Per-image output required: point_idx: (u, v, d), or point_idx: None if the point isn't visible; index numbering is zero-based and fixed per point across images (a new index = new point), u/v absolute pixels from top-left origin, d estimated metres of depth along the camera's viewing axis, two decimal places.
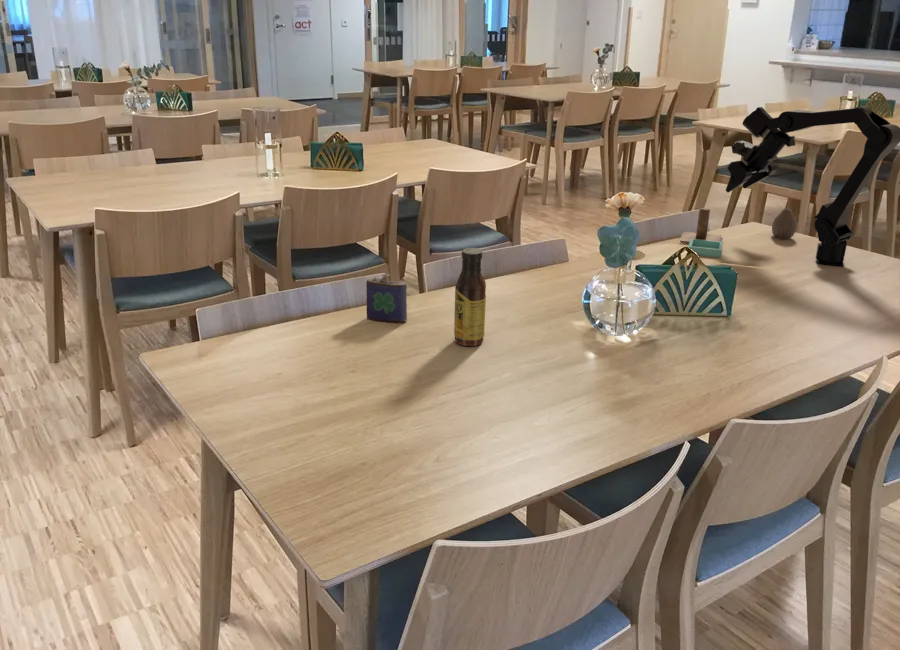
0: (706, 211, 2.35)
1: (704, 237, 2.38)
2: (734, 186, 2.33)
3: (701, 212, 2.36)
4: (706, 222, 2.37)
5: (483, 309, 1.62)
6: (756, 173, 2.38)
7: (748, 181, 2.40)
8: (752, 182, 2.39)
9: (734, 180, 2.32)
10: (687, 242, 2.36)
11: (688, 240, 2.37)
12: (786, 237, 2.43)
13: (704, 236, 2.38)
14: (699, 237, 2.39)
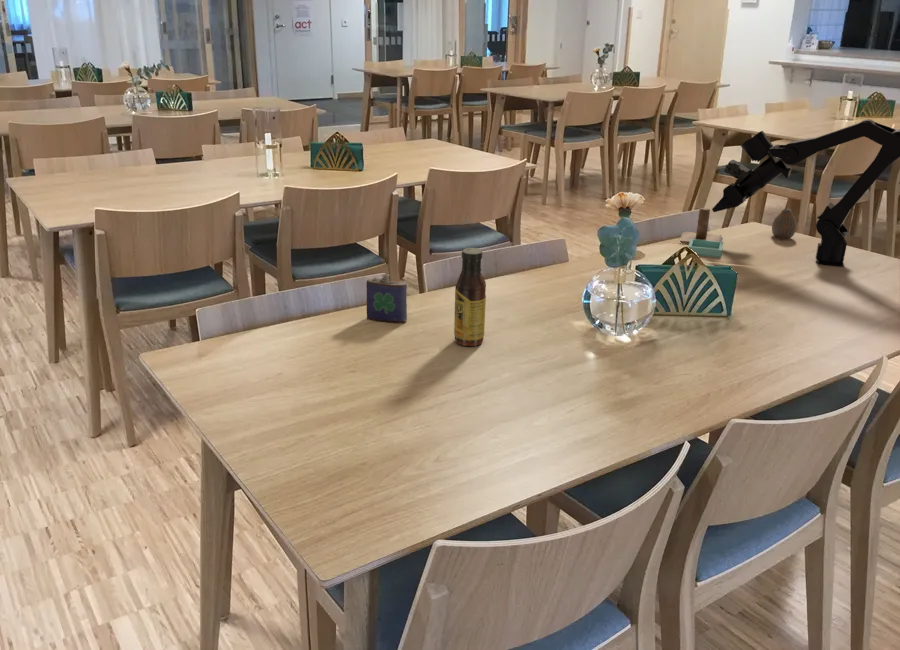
0: (706, 211, 2.35)
1: (704, 237, 2.38)
2: (724, 208, 2.28)
3: (701, 212, 2.36)
4: (706, 222, 2.37)
5: (483, 309, 1.62)
6: None
7: None
8: None
9: (725, 202, 2.27)
10: (687, 242, 2.36)
11: (688, 240, 2.37)
12: (786, 237, 2.43)
13: (704, 236, 2.38)
14: (699, 237, 2.39)
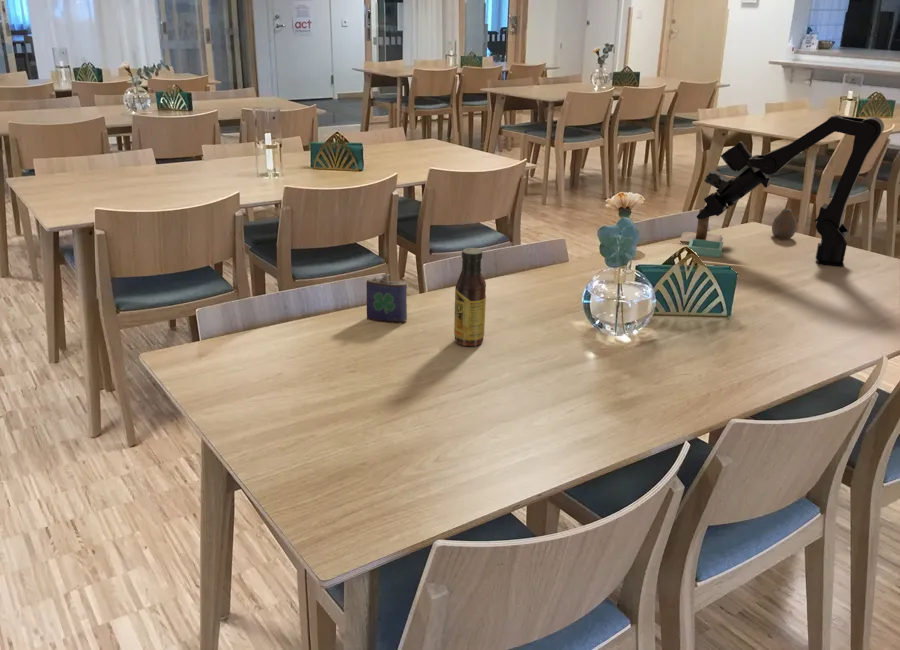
0: None
1: (704, 237, 2.38)
2: (707, 215, 2.34)
3: None
4: (706, 222, 2.37)
5: (483, 309, 1.62)
6: None
7: None
8: None
9: (709, 209, 2.33)
10: (687, 242, 2.36)
11: (688, 240, 2.37)
12: (786, 237, 2.43)
13: (704, 236, 2.38)
14: (699, 237, 2.39)
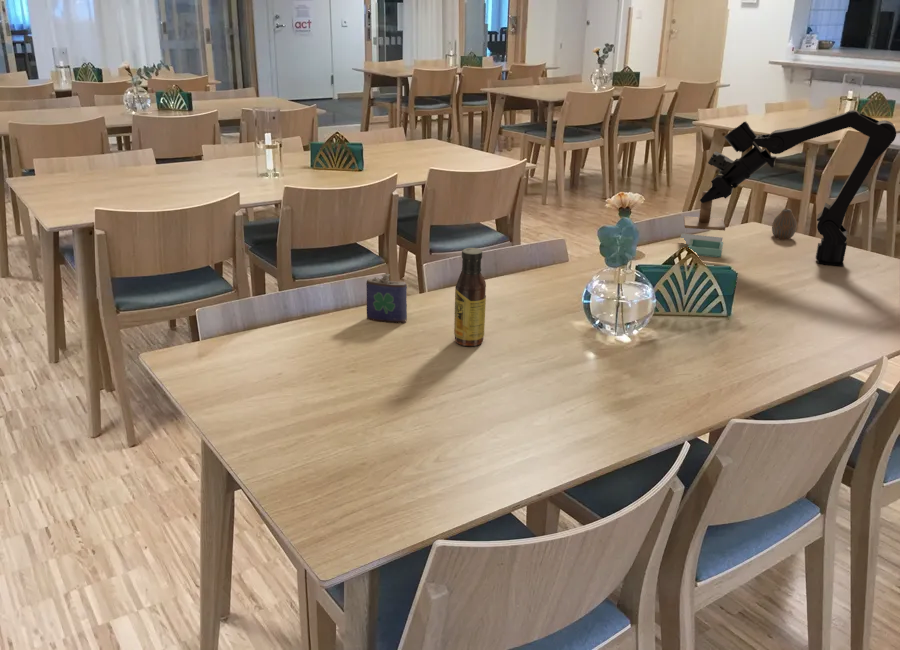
0: None
1: (708, 221, 2.32)
2: (712, 198, 2.28)
3: None
4: (710, 205, 2.31)
5: (483, 309, 1.62)
6: None
7: None
8: None
9: (713, 192, 2.27)
10: (692, 226, 2.30)
11: (693, 224, 2.30)
12: (786, 237, 2.43)
13: (708, 220, 2.32)
14: (703, 221, 2.32)
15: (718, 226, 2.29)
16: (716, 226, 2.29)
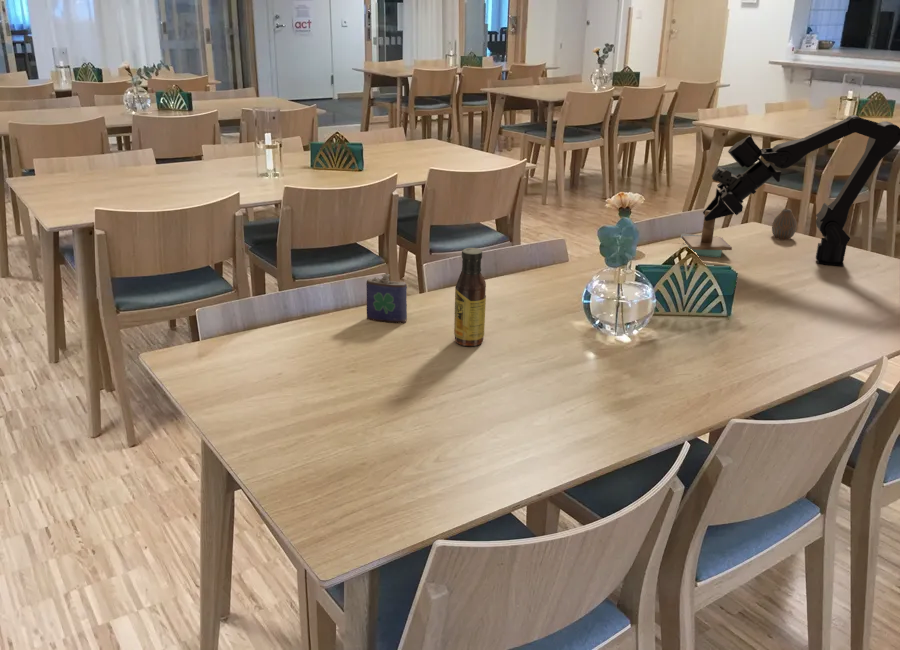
0: None
1: (711, 240, 2.27)
2: (718, 216, 2.21)
3: None
4: (713, 225, 2.25)
5: (483, 309, 1.62)
6: None
7: (711, 208, 2.28)
8: None
9: (719, 210, 2.20)
10: (699, 248, 2.23)
11: (699, 245, 2.24)
12: (786, 237, 2.43)
13: (711, 239, 2.27)
14: (706, 241, 2.27)
15: (724, 246, 2.24)
16: (722, 246, 2.24)
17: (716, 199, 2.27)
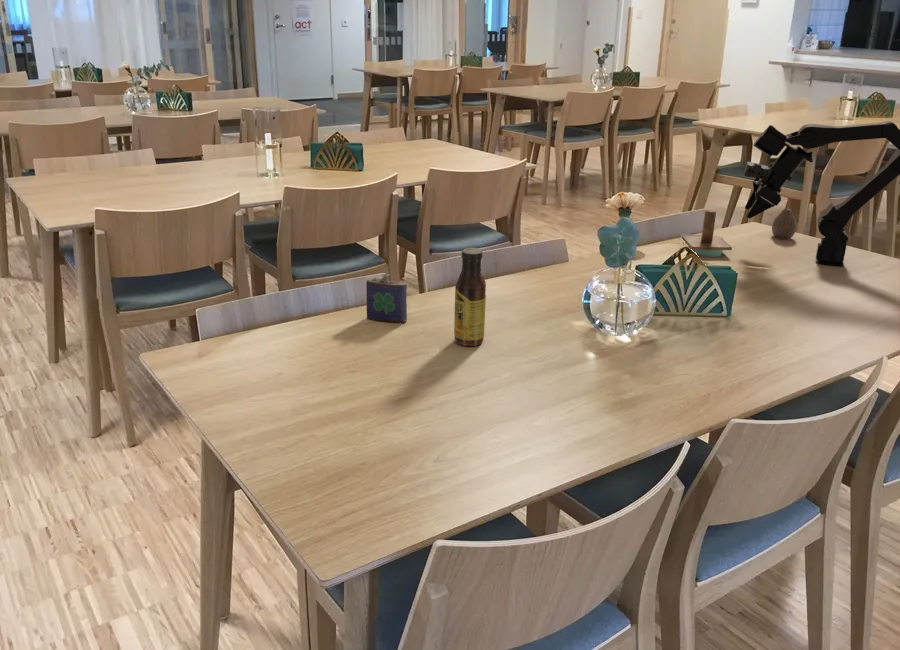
0: (714, 213, 2.24)
1: (711, 240, 2.27)
2: (759, 211, 2.19)
3: (709, 215, 2.24)
4: (713, 225, 2.25)
5: (483, 309, 1.62)
6: None
7: (751, 201, 2.28)
8: None
9: (759, 205, 2.18)
10: (699, 248, 2.23)
11: (699, 245, 2.24)
12: (786, 237, 2.43)
13: (711, 239, 2.27)
14: (706, 241, 2.27)
15: (724, 246, 2.24)
16: (722, 246, 2.24)
17: (755, 191, 2.27)
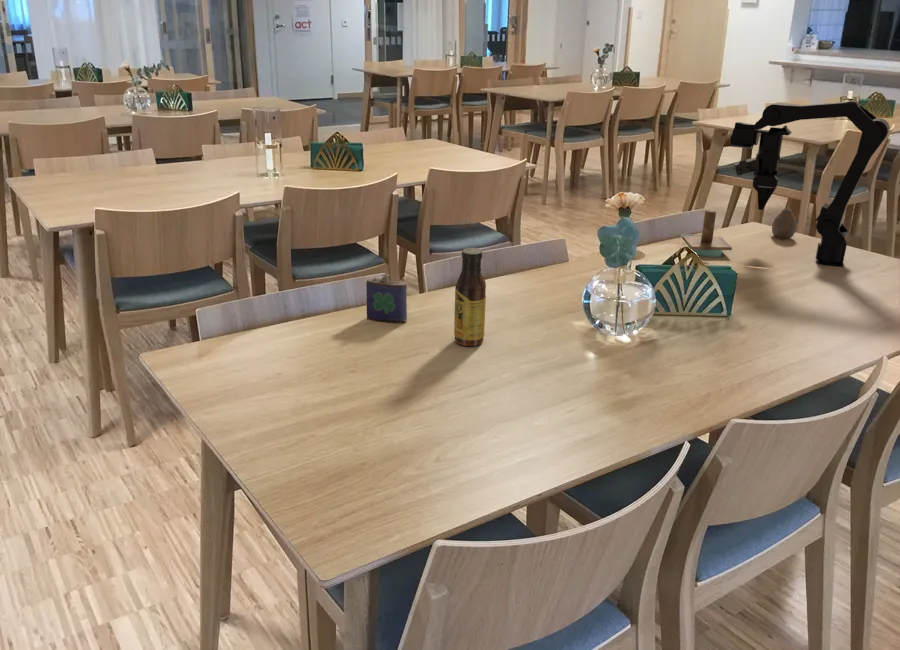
0: (714, 213, 2.24)
1: (711, 240, 2.27)
2: (766, 199, 2.21)
3: (709, 215, 2.24)
4: (713, 225, 2.25)
5: (483, 309, 1.62)
6: None
7: None
8: None
9: (763, 194, 2.21)
10: (699, 248, 2.23)
11: (699, 245, 2.24)
12: (786, 237, 2.43)
13: (711, 239, 2.27)
14: (706, 241, 2.27)
15: (724, 246, 2.24)
16: (722, 246, 2.24)
17: None
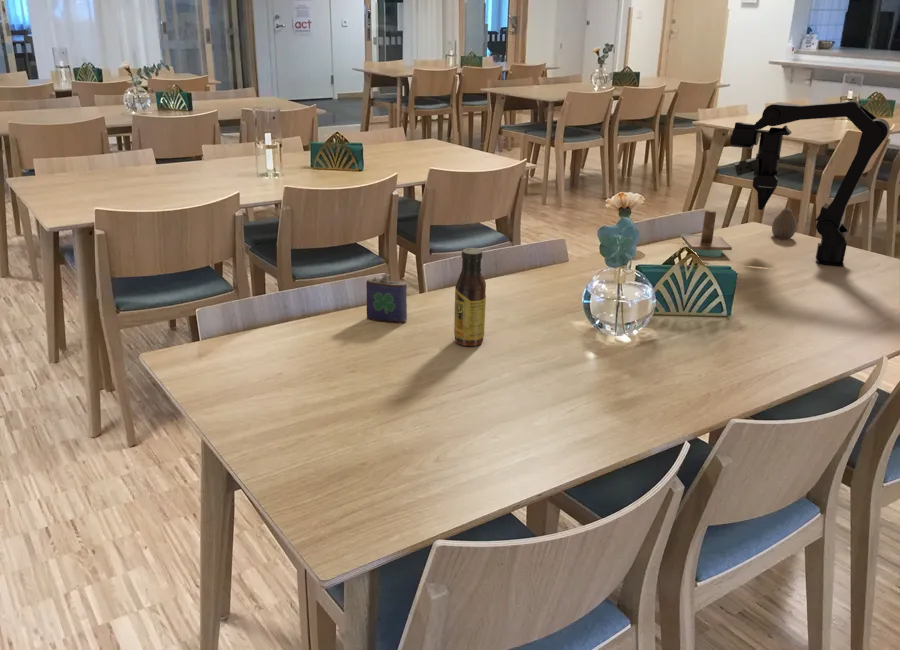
0: (714, 213, 2.24)
1: (711, 240, 2.27)
2: (766, 199, 2.21)
3: (709, 215, 2.24)
4: (713, 225, 2.25)
5: (483, 309, 1.62)
6: None
7: None
8: None
9: (763, 194, 2.21)
10: (699, 248, 2.23)
11: (699, 245, 2.24)
12: (786, 237, 2.43)
13: (711, 239, 2.27)
14: (706, 241, 2.27)
15: (724, 246, 2.24)
16: (722, 246, 2.24)
17: None
